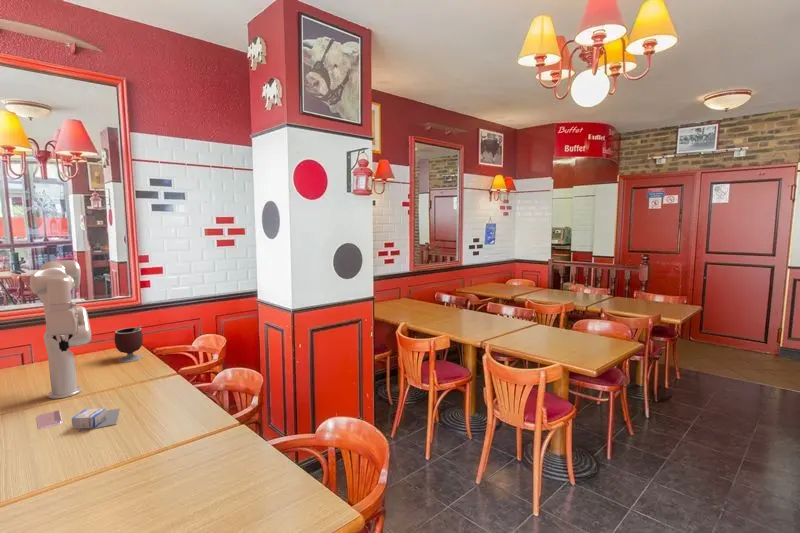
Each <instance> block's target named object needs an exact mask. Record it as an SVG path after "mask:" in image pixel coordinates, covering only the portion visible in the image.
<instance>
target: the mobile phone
mask: <svg viewBox="0 0 800 533" xmlns="http://www.w3.org/2000/svg"><path fill="white" fill-rule="evenodd" d="M36 421H37V428H38V429H39V430H41V429H42V428H43V429H46V427H47V428H51V427H54V425H55V426H58V425H61V424H63V419H62V413H61V411H60V410H54V411H50V412H46V413H42V414H39V415H37V417H36ZM50 426H51V427H50Z"/></svg>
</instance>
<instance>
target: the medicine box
mask: <svg viewBox="0 0 800 533" xmlns="http://www.w3.org/2000/svg"><path fill="white" fill-rule="evenodd" d="M106 411H107V409H106V408H92V409H91V408H89V409H86V408H84V409H83V410H82V411H80V412H79V413H77V414H76V415H75V416H73V417H72V418H71V427H72V429H80V428H95V427H96V426H97V425H99V424H100V423H101V422H103V421H104V420H105V419H107V412H106Z"/></svg>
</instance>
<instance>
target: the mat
mask: <svg viewBox="0 0 800 533" xmlns="http://www.w3.org/2000/svg"><path fill="white" fill-rule="evenodd" d="M120 410H121V409H120V408H116V409H109V410H106V412H107V419H105V420H104V421H103V422H101V423H100V424H99V425H97V426H96V427H95V428H78V429H79V430H78V432H79V433H81V432H86V431H89V430H91V429H92V430H95V429H96V430H97V429H102V428H106V427H112V426H116V425H117V423H116V422H118V418H119V413H120Z"/></svg>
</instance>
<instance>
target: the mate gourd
mask: <svg viewBox="0 0 800 533" xmlns="http://www.w3.org/2000/svg"><path fill="white" fill-rule="evenodd" d="M143 335H144V334H143V330H142V325H140V326H138V327H125V328H121V329H117V330H115V331H114V345H115V349H116V350H117V351H119V352H120V353H125V354H126V355H124V356H122V357H119V358H118V359H117V361H119V362H118V363H131V362H132V361H133V362H136V360H137V361H140V360H142V359H143V358H142V357H144V356H143V355H142V354H134V353H135V352H136V351H139V350H140V349H141V347H142V346H143V341H144V337H143ZM141 358H142V359H141ZM139 359H140V360H139Z"/></svg>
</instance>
